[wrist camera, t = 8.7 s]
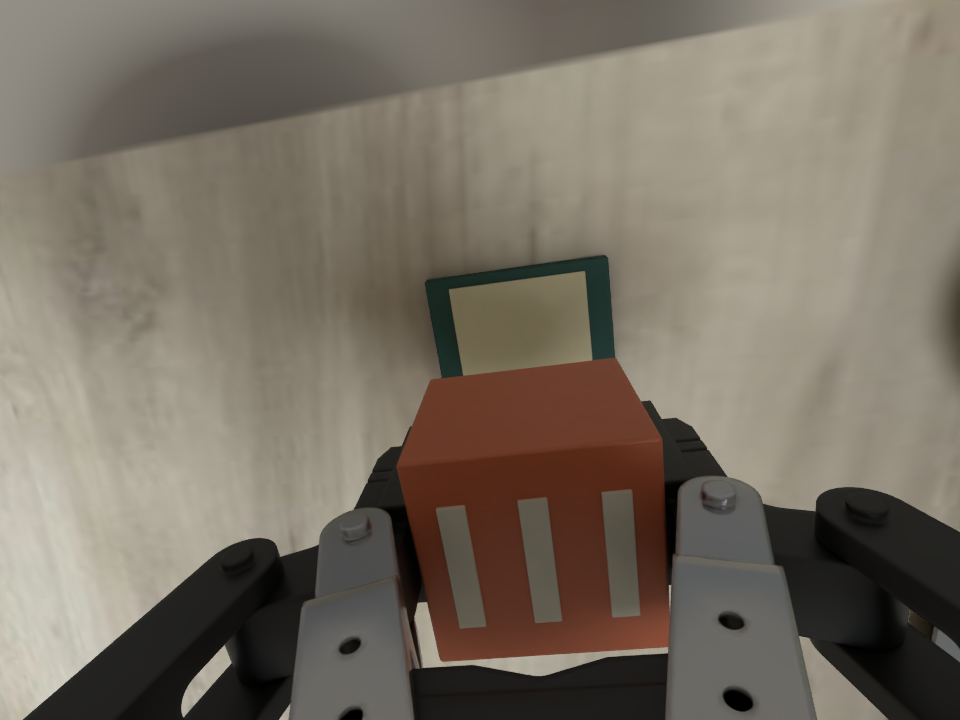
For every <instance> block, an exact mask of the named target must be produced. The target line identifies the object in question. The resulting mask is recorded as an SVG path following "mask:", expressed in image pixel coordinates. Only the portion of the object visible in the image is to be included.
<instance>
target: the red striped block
mask: <svg viewBox="0 0 960 720" xmlns="http://www.w3.org/2000/svg"><path fill="white" fill-rule="evenodd" d="M397 471H398V475H399V480H400V484H401V489H402V493H403V498H404V502H405V506H406V511H407V515H408V520H409V524H410V529H411V533H412V537H413V542H414V546H415V551H416V555H417V560H418V564H419V569H420V573H421V577H422V582H423V586H424V591H425V595H426V600H427V604H428V608H429V613H430V617H431V622H432V626H433V631H434V635H435V640H436V644H437V648H438V653H439V657H440V660H441V661H443V662H445V661H461V660H476V659H491V658H507V657H522V656H537V655H553V654H568V653H583V652H599V651H614V650H630V649H645V648H660V647H669V627H670V607H669V583H668V560H667V536H666V513H665V489H664V465H663V442H662V437H661V436H660V434H659V432H658V430H657V429H656V427H655V425H654V423H653V422H652V420H651V418H650V417H649V415H648V413H647V411H646V410H645V408H644V406H643V404H642V403H641V401H640V399H639V397H638V396H637V394H636V392H635V390H634V389H633V387H632V385H631V383H630V382H629V380H628V378H627V376H626V375H625V373H624V371H623V370H622V368H621V366H620V364H619V363H618V361H617V359H616V358H608V359H600V360H591V361H583V362H575V363H566V364H558V365H550V366H541V367H533V368H524V369H516V370H508V371H499V372H491V373H483V374H474V375H466V376H458V377H449V378H441V379H433V380H430V382H429V385H428V387H427V390H426V392H425V395H424V397H423V400H422V402H421V405H420V407H419V410H418V413H417V415H416V418H415V420H414V423H413V425H412V428H411V430H410V433H409V435H408V438H407V440H406V443H405V445H404V448H403V450H402V453H401V455H400V458H399V461H398V463H397Z"/></svg>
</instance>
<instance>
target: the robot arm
mask: <svg viewBox="0 0 960 720" xmlns="http://www.w3.org/2000/svg"><path fill="white" fill-rule="evenodd" d="M641 403H642V404H643V406H644V408H645V410H646V411H647V413H648V415H649V417H650V418H651V420H652V422H653V423H654V425H655V427H656V429H657V430H658V432H659V434H660V436H661V437H662V442H663V465H664V489H665V513H666V536H667V560H668V583H669V585H671V605H670V627H669V648H668V654H651V655H635V656H618V657H606V658H603V659H600V660H596V661H593V662H590V663H586V664H583V665H580V666H576V667H573V668H570V669H566V670H563V671H560V672H556V673H553V674H550V675H546V676H531V675H525V674H520V673H514V672H508V671H503V670H497V669H492V668H486V667H481V666H475V665H467V666H450V667H433V668H423V662H422V655H421V649H420V643H419V637H418V631H417V626H416V622H415V618H414V616H415V612H416V608H417V603H418V602H427V600H426V595H425V591H424V586H423V582H422V577H421V573H420V569H419V564H418V560H417V555H416V551H415V546H414V542H413V537H412V533H411V529H410V524H409V520H408V515H407V511H406V506H405V502H404V498H403V493H402V489H401V484H400V480H399V475H398V471H397V463H398V461H399V458H400V455H401V453H402V450H403V448H404V445H405V443H406V440H407V438H408V435H409V433H410V430H411V428H412V426H410V428H409V430H408V432H407V435H406V437H405V440H404V442H403V445H402V446H399V447H391V448H390V449H389V450H388V451H386V452H385V453H384V454H383V455H382V456H381V457H380V458H378V460H377V462H376V464H375V466H374V469H373V473H371V475H370V477H369V479H368V483H366V485H365V487H364V490H363V492H362V494H361V496H360V498H359V500H358V502H357V504H356V506H355V508H354V510H352V511H349V512H346V513H344V514H342V515H340V516H338V517H337V518H335V519H333V520H332V521H331V522H330V523H328V524H327V525H326V527H325V528H324V529H323V530H322V532H321V535H320V540H319V545H317V546H315V547H312V548H309V549H306V550H302V551H299V552H296V553H292V554H289V555H285V556H282V557H280V555H279V552H278V549H277V546H276V544H275V543H274V542H273V541H271V540H269V539H265V538H254V539H248V540H244V541H241V542H238V543H235V544H233V545H231V546H229V547H227V548H225V549H223V550H221V551H220V552H218V553H217V554H215V555H214V556H213V557H211V558H210V559H209V560H208V561H207V562H206V563H204V564H203V565H202V566H201V567H200V568H199V569H197V570H196V571H195V572H194V573H193V574H192V575H191V576H189V577H188V578H187V579H186V580H185V581H184V582H182V583H181V584H180V585H179V586H178V587H177V588H175V589H174V590H173V591H172V592H171V593H170V594H168V595H167V596H166V597H165V598H164V599H163V600H161V601H160V602H159V603H158V604H157V605H156V606H154V607H153V608H152V609H151V610H150V611H149V612H147V613H146V614H145V615H144V616H143V617H142V618H141V619H139V620H138V621H137V622H136V623H135V624H134V625H132V626H131V627H130V628H129V629H128V630H127V631H125V632H124V633H123V634H122V635H121V636H120V637H118V638H117V639H116V640H115V641H114V642H113V643H111V644H110V645H109V646H108V647H107V648H106V649H104V650H103V651H102V652H101V653H100V654H99V655H98V656H96V657H95V658H94V659H93V660H92V661H91V662H89V663H88V664H87V665H86V666H85V667H84V668H82V669H81V670H80V671H79V672H78V673H77V674H75V675H74V676H73V677H72V678H71V679H70V680H68V681H67V682H66V683H65V684H64V685H63V686H61V687H60V688H59V689H58V690H57V691H56V692H54V693H53V694H52V695H51V696H50V697H49V698H48V699H46V700H45V701H44V702H43V703H42V704H41V705H39V706H38V707H37V708H36V709H35V710H34V711H32V712H31V713H30V714H29V715H28V716H27V717H25V718H24V719H23V720H279V719H280V717H281V716H282V714H283V713H284V712H285V710H286V709H287V707H288V706H289V705H290V713H289V720H817V717H816V712H815V707H814V703H813V698H812V694H811V689H810V685H809V680H808V676H807V671H806V666H805V662H804V657H803V653H802V648H801V644H800V639H799V636H802V637H807V638H810V640H811V642H812V644H813V645H814V647H815V648H816V649H817V650H818V651H819V652H820V653H821V654H822V655H823V656H824V657H825V658H826V659H827V660H828V661H829V662H830V663H831V664H832V665H833V666H834V667H835V668H836V669H837V670H838V671H839V672H840V673H841V674H842V675H843V676H844V677H845V678H846V679H848V680H849V681H850V682H851V683H852V684H853V685H854V686H855V687H856V688H857V689H858V690H859V691H860V692H861V693H862V694H863V695H864V696H865V697H866V698H867V699H868V700H869V701H870V702H871V703H872V704H873V705H874V706H875V707H877V708H878V709H879V710H880V711H881V712H882V713H883V714H884V715H885V716H886V717H887V718H888V719H889V720H960V662H959V661H958V660H956V659H955V658H954V657H952V656H951V655H950V654H948V653H947V652H946V651H944V650H943V649H942V648H941V647H939V646H938V645H937V644H935V643H934V642H933V641H931V640H930V639H929V638H927V637H926V636H925V635H923V634H922V633H921V632H919V631H918V630H917V629H915V628H914V627H913V626H912V625H910V624H909V623H908V615H909V608H910V609H911V610H913V611H914V612H915V613H917V614H918V615H920V616H921V617H922V618H924V619H925V620H926V621H928V622H929V623H930V624H932V625H933V626H935V627H936V628H937V629H939V630H940V631H941V632H943V633H944V634H945V635H947V636H948V637H949V638H950V639H951V640H952V641H953V642H954V643H955V644H956V645H957V646H958V647H959V649H960V532H958V531H957V530H955V529H953V528H951V527H949V526H947V525H946V524H944V523H942V522H940V521H938V520H936V519H935V518H933V517H931V516H929V515H927V514H925V513H924V512H922V511H920V510H918V509H916V508H914V507H913V506H911V505H909V504H907V503H905V502H903V501H902V500H900V499H897V498H895V497H893V496H891V495H888V494H885V493H882V492H879V491H875V490H870V489H864V488H855V487H843V488H835V489H831V490H828V491H825V492H824V493H822V494H821V495H820V496H819V497H818V498H817V500H816V512H815V511H805V510H796V509H786V508H779V507H774V506H769V505H766V504H763V503H762V499H761V496H760V494H759V493H758V492H757V491H756V490H755V489H754V488H753V487H751V486H750V485H748V484H746V483H744V482H742V481H740V480H737V479H733V478H729V477H727V475H726V474H725V473H724V471H723V470H722V468H721V467H720V466H719V464H718V463H717V461H716V460H715V459H714V457H713V456H712V454H711V453H710V451H709V450H707V447H706V446H705V444H704V443H703V442H702V441H701V440H700V437H699V436H698V434H697V433H696V432H695V430H694V429H693V427H692V426H690V425H688V424H686V423H684V422H683V421H681V420H679V419H677V418H670V419H661V417H660V416H659V414H658V412H657V411H656V409H655V407H654V406H653V404H652V402H651V401H641ZM224 645H225V647H226V649H227V652H228V654H229V657H230V660H231V662H232V663H231V665H230V666H229V667H228V668H227V669H226V670H225V671H224V673H223V674H222V675H221V676H220V677H219V678H218V679H217V680H216V682H215V683H214V684H213V685H212V686H211V687H210V688H209V689H208V691H207V692H206V693H205V694H204V695H203V696H202V697H201V699H200V700H199V701H198V702H197V703H196V704H195V705H194V706H193V708H192V709H191V710H190V711H189V712H188V713H187V714H186V716H185V717H184V718H183V716H182V713H181V704H182V699H183V696H184V693H185V691H186V689H187V687H188V685H189V683H190V682H191V680H192V679H193V678H194V677H195V676H196V675H197V674H198V673H199V672H200V670H201V669H202V668H203V667H204V666H205V665H206V664H207V663H208V662H209V661H210V660H211V659H212V658H213V656H214V655H215V654H216V653H217V652H218V651H219V650H220V649H221V648H222V647H223V646H224ZM290 703H291V704H290Z"/></svg>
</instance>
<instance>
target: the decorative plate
mask: <svg viewBox="0 0 960 720" xmlns="http://www.w3.org/2000/svg"><path fill="white" fill-rule="evenodd" d="M931 641H933V642H934V643H935V644H937V645H938V646H939V647H941V648H942V649H943V650H944V651H946V652H947V653H948V654H950V655H951V656H952V657H954V658H955V659H956V660H958V661H959V662H960V649H959V647H958V646H957V645H956V644H955V643H954V642H953V641H952V640H951V639H950V638H949V637H948V636H947V635H945V634H944V633H943V632H941V631H940V630H939V629H937V628H936V627H935V626H934V630H933V635H932V640H931Z"/></svg>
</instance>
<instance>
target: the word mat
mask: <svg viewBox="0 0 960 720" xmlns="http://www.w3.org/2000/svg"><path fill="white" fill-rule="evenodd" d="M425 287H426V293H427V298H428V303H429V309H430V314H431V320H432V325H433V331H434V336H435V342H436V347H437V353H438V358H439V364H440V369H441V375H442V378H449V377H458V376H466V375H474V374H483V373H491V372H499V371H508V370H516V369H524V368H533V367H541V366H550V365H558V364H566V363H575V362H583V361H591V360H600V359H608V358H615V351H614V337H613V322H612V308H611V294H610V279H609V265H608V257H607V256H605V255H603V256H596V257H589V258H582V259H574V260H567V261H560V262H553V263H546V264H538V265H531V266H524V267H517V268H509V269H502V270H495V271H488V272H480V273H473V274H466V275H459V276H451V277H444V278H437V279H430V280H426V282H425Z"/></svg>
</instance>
